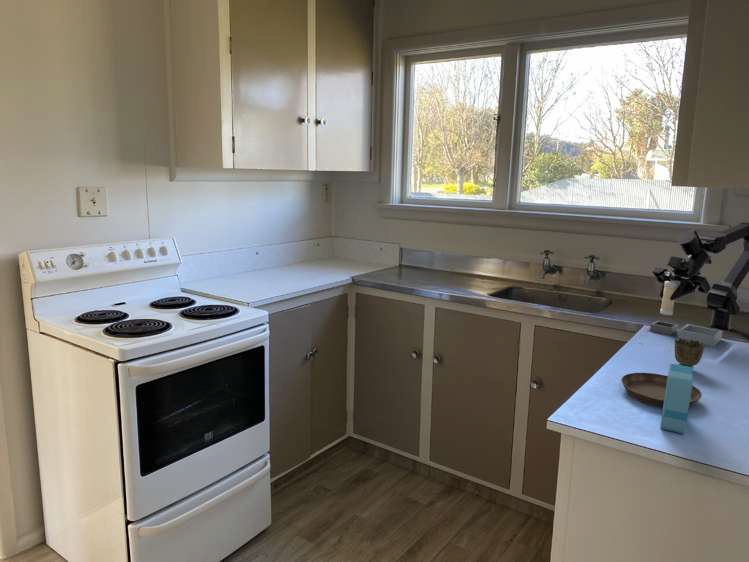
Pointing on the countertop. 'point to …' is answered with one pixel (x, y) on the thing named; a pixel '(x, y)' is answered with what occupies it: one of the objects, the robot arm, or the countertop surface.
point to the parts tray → (700, 334)
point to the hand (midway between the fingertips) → (665, 298)
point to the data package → (677, 398)
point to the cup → (688, 352)
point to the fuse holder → (664, 328)
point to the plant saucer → (652, 388)
